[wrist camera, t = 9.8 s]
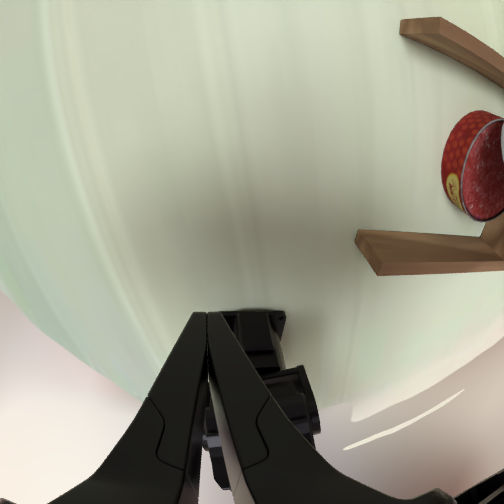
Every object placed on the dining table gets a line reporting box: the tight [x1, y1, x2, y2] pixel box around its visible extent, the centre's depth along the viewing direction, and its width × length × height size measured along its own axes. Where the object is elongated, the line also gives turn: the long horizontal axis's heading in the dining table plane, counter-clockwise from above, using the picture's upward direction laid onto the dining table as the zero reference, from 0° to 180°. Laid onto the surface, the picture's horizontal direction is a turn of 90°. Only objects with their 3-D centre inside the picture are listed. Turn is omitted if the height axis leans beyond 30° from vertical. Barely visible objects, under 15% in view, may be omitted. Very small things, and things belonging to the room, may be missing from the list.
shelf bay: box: [355, 17, 504, 276], centre depth 19 cm, size 18×18×4 cm
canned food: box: [441, 111, 504, 222], centre depth 19 cm, size 11×10×10 cm
